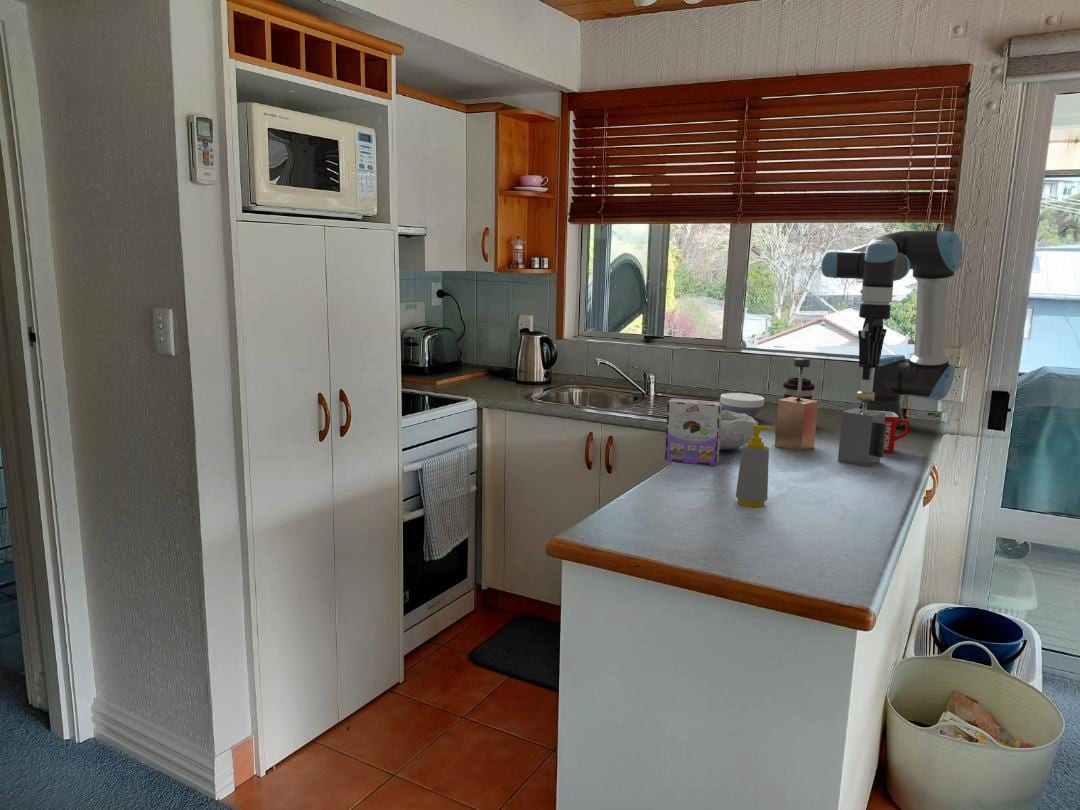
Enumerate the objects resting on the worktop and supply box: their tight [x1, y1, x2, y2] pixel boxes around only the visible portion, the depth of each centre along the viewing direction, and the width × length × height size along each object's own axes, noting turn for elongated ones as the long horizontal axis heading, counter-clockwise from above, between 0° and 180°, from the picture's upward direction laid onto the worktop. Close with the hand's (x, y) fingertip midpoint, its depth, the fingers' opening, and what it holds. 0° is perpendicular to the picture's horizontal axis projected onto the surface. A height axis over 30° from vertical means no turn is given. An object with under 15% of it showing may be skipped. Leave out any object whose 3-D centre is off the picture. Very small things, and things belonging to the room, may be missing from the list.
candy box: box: [664, 397, 723, 467], centre depth 213 cm, size 14×6×16 cm, turn 71°
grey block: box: [837, 407, 887, 468], centre depth 217 cm, size 8×10×14 cm
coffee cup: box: [782, 377, 816, 400], centre depth 267 cm, size 10×10×15 cm
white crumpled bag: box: [719, 409, 760, 451], centre depth 229 cm, size 21×20×10 cm
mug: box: [878, 411, 911, 454], centre depth 233 cm, size 12×8×11 cm
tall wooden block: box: [774, 397, 819, 452], centre depth 234 cm, size 8×10×14 cm
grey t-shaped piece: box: [793, 357, 811, 401], centre depth 231 cm, size 6×6×17 cm
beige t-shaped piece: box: [856, 390, 875, 413], centre depth 217 cm, size 6×6×17 cm
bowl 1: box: [719, 392, 765, 420], centre depth 273 cm, size 14×14×8 cm
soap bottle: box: [735, 424, 774, 508], centre depth 178 cm, size 7×7×18 cm
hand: (866, 391), depth 216 cm, fingers closed
